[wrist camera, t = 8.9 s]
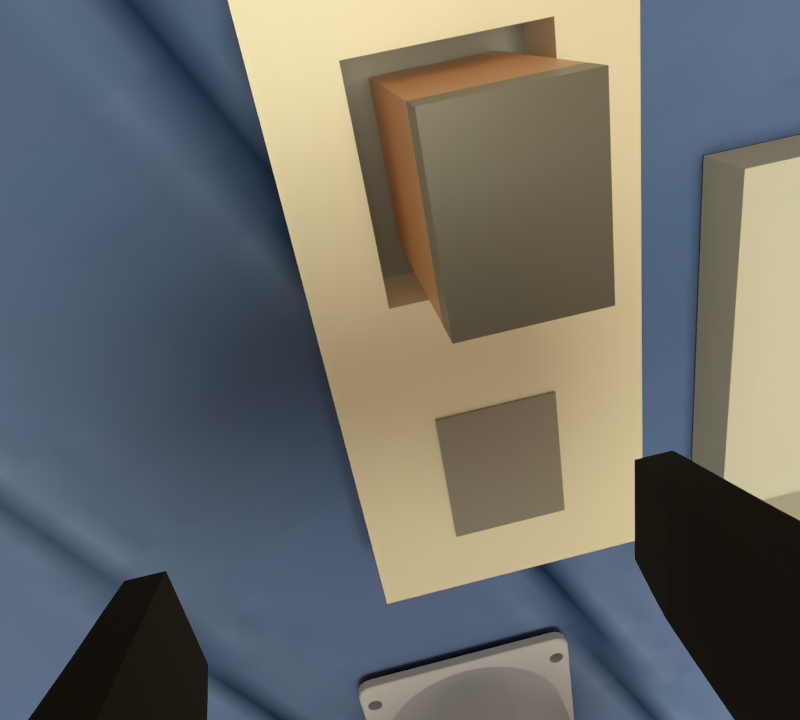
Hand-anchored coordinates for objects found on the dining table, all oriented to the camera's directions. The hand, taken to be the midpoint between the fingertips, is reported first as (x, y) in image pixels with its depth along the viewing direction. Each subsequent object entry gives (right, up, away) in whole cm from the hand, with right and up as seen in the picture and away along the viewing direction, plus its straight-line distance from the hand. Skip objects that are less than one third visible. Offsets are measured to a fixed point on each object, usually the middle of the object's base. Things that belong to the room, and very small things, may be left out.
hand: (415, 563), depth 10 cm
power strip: (+1, +6, +8) cm, 10 cm away
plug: (+1, +8, +6) cm, 10 cm away
